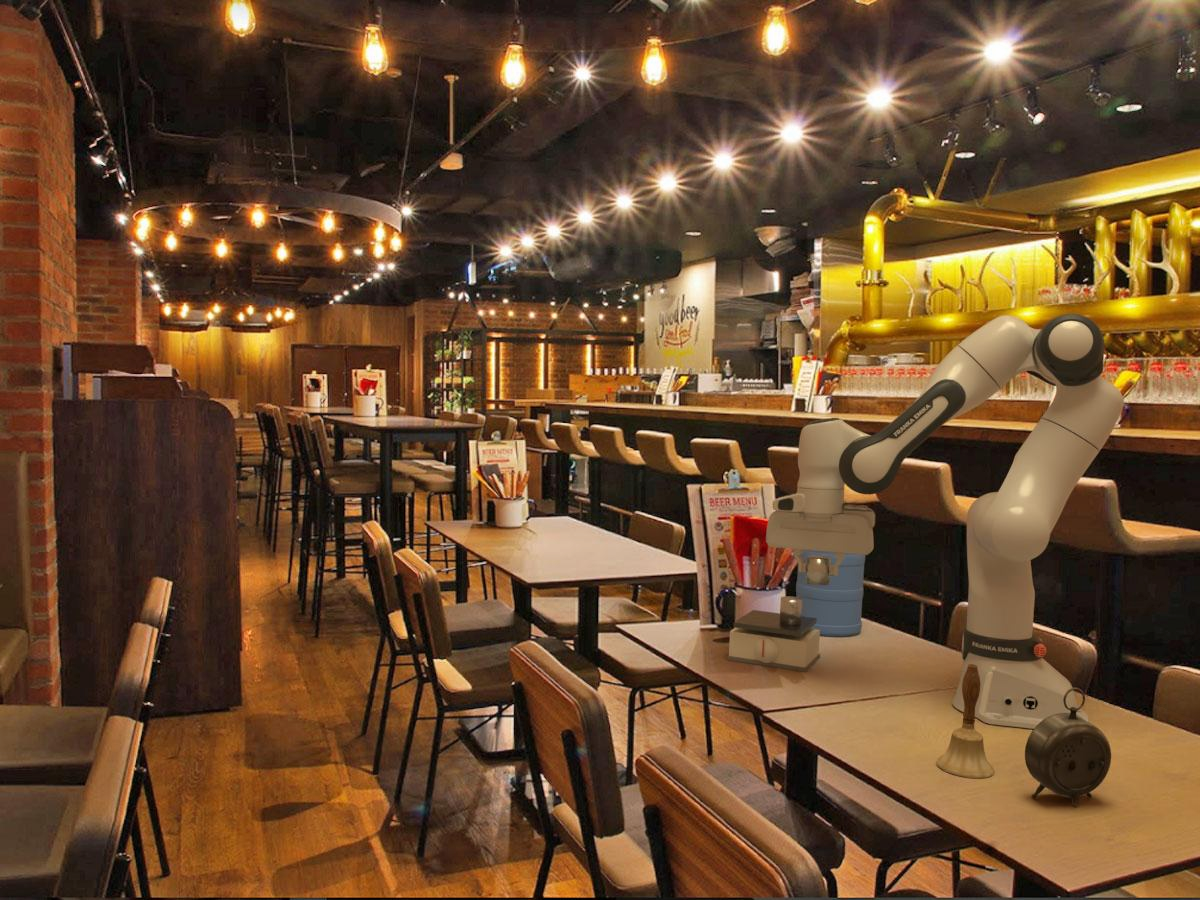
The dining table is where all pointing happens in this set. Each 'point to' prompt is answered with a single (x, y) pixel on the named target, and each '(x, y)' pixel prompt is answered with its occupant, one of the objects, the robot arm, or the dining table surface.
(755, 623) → the pan
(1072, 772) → the alarm clock
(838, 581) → the water jug
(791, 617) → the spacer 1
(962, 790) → the dining table surface
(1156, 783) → the dining table surface
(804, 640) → the scale body
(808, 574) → the small glass cup
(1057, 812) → the dining table surface
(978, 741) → the hand bell
